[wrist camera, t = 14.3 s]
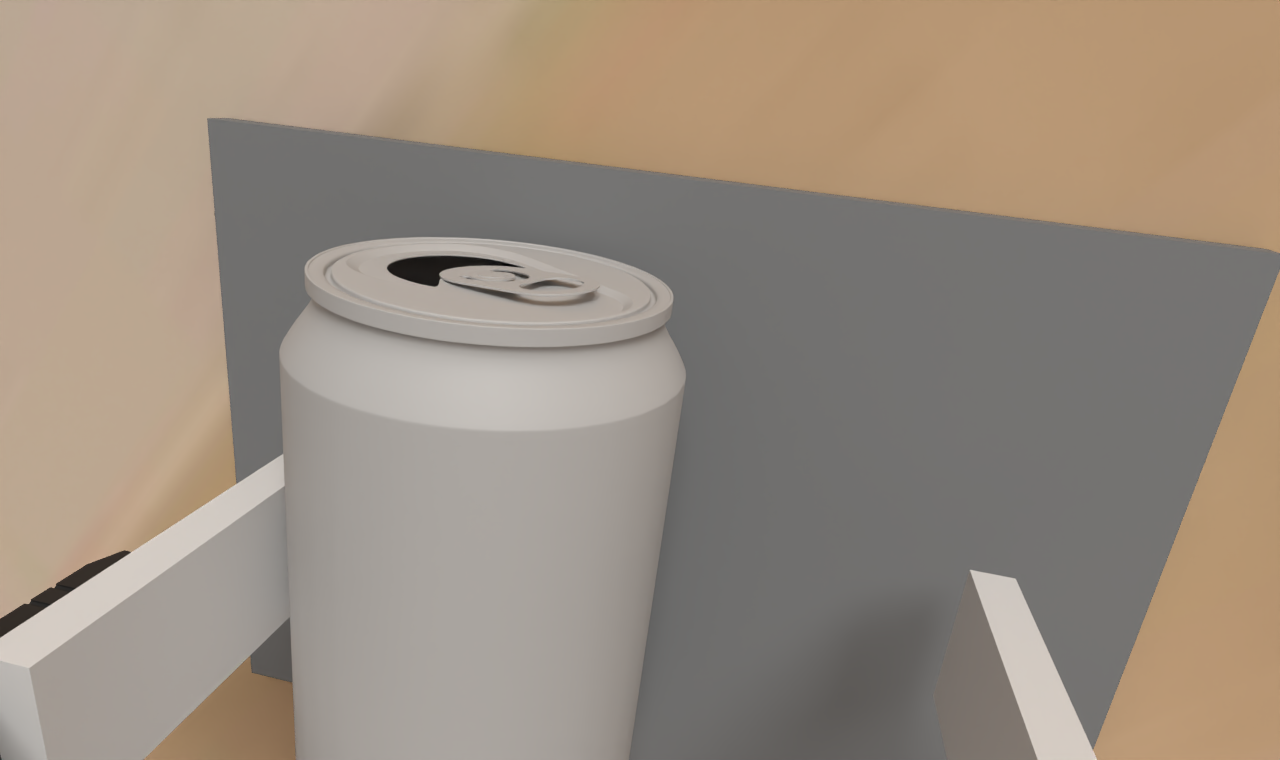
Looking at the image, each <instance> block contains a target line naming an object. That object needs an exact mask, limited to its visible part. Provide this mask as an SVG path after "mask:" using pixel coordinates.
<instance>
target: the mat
mask: <svg viewBox="0 0 1280 760" xmlns="http://www.w3.org/2000/svg"><path fill="white" fill-rule="evenodd" d="M207 120H208V133H209V145H210V158H211V170H212V183H213V195H214V208H215V220H216V233H217V245H218V258H219V270H220V282H221V295H222V307H223V320H224V332H225V345H226V357H227V370H228V382H229V395H230V407H231V420H232V432H233V444H234V457H235V469H236V482H237V483H239V482H240V481H242V480H244V479H245V478H247V477H248V476H250V475H251V474H253V473H254V472H256V471H257V470H259V469H260V468H262V467H264V466H265V465H267V464H268V463H270V462H271V461H273V460H274V459H276V458H277V457H279V456H280V455H282V454H283V434H282V409H281V385H280V361H279V350H280V346H281V343H282V341H283V339H284V337H285V336H286V334H287V333H288V331H289V329H290V328H291V326H292V325H293V323H294V322H295V321H296V319H297V318H298V317H299V315H300V314H301V313H302V312H303V310H304V309H305V308H306V306H307V305H308V304H309V302H310V300H311V297H310V296H309V295H308V294H307V292H306V289H305V272H304V269H305V265H306V263H307V262H308V260H310V259H311V258H312V257H314V256H315V255H317V254H319V253H321V252H323V251H326V250H328V249H331V248H334V247H338V246H342V245H346V244H351V243H357V242H364V241H371V240H380V239H391V238H410V237H456V238H478V239H493V240H504V241H514V242H523V243H530V244H538V245H545V246H551V247H557V248H563V249H568V250H574V251H578V252H583V253H588V254H592V255H596V256H600V257H604V258H607V259H611V260H615V261H618V262H621V263H624V264H627V265H630V266H633V267H635V268H638V269H640V270H643V271H645V272H647V273H649V274H651V275H653V276H655V277H656V278H658V279H660V280H661V281H662V282H664V283H665V284H666V285H667V286H668V287H669V288H670V289H671V291H672V293H673V306H672V313H671V317H670V319H669V320H668V321H667V322H666V323H665V327H666V329H667V331H668V333H669V335H670V337H671V339H672V340H673V342H674V344H675V346H676V348H677V350H678V352H679V354H680V357H681V359H682V361H683V364H684V367H685V370H686V380H685V388H684V394H683V401H682V408H681V414H680V421H679V428H678V434H677V441H676V448H675V454H674V461H673V468H672V474H671V481H670V488H669V494H668V501H667V508H666V514H665V521H664V528H663V534H662V541H661V548H660V554H659V561H658V568H657V574H656V581H655V588H654V594H653V601H652V608H651V615H650V621H649V628H648V635H647V641H646V648H645V655H644V661H643V668H642V675H641V681H640V688H639V695H638V701H637V708H636V715H635V721H634V728H633V735H632V741H631V748H630V755H629V760H947V756H946V752H945V747H944V743H943V738H942V733H941V729H940V724H939V720H938V715H937V711H936V706H935V701H934V697H933V694H934V691H935V688H936V684H937V681H938V677H939V674H940V670H941V667H942V663H943V660H944V656H945V653H946V650H947V646H948V643H949V639H950V636H951V632H952V629H953V625H954V622H955V619H956V615H957V612H958V608H959V605H960V601H961V598H962V594H963V591H964V588H965V584H966V581H967V577H968V574H969V570H974V571H979V572H984V573H989V574H995V575H1000V576H1005V577H1010V578H1015V579H1016V581H1017V583H1018V585H1019V587H1020V590H1021V592H1022V594H1023V596H1024V598H1025V601H1026V603H1027V605H1028V607H1029V610H1030V612H1031V614H1032V616H1033V618H1034V621H1035V623H1036V625H1037V627H1038V630H1039V632H1040V634H1041V636H1042V638H1043V641H1044V643H1045V645H1046V647H1047V650H1048V652H1049V654H1050V656H1051V658H1052V661H1053V663H1054V665H1055V667H1056V669H1057V672H1058V674H1059V676H1060V678H1061V681H1062V683H1063V685H1064V687H1065V689H1066V692H1067V694H1068V696H1069V698H1070V701H1071V703H1072V705H1073V707H1074V709H1075V712H1076V714H1077V716H1078V718H1079V721H1080V723H1081V725H1082V727H1083V729H1084V732H1085V734H1086V736H1087V738H1088V741H1089V743H1090V745H1091V747H1092V749H1094V746H1095V743H1096V741H1097V738H1098V736H1099V733H1100V731H1101V728H1102V725H1103V723H1104V720H1105V718H1106V715H1107V713H1108V710H1109V707H1110V705H1111V702H1112V700H1113V697H1114V694H1115V692H1116V689H1117V687H1118V684H1119V682H1120V679H1121V676H1122V674H1123V671H1124V669H1125V666H1126V664H1127V661H1128V658H1129V656H1130V653H1131V651H1132V648H1133V646H1134V643H1135V640H1136V638H1137V635H1138V633H1139V630H1140V628H1141V625H1142V622H1143V620H1144V617H1145V615H1146V612H1147V610H1148V607H1149V604H1150V602H1151V599H1152V597H1153V594H1154V592H1155V589H1156V586H1157V584H1158V581H1159V579H1160V576H1161V573H1162V571H1163V568H1164V566H1165V563H1166V561H1167V558H1168V555H1169V553H1170V550H1171V548H1172V545H1173V543H1174V540H1175V537H1176V535H1177V532H1178V530H1179V527H1180V525H1181V522H1182V519H1183V517H1184V514H1185V512H1186V509H1187V507H1188V504H1189V501H1190V499H1191V496H1192V494H1193V491H1194V489H1195V486H1196V483H1197V481H1198V478H1199V476H1200V473H1201V471H1202V468H1203V465H1204V463H1205V460H1206V458H1207V455H1208V452H1209V450H1210V447H1211V445H1212V442H1213V440H1214V437H1215V434H1216V432H1217V429H1218V427H1219V424H1220V422H1221V419H1222V416H1223V414H1224V411H1225V409H1226V406H1227V404H1228V401H1229V398H1230V396H1231V393H1232V391H1233V388H1234V386H1235V383H1236V380H1237V378H1238V375H1239V373H1240V370H1241V368H1242V365H1243V362H1244V360H1245V357H1246V355H1247V352H1248V350H1249V347H1250V344H1251V342H1252V339H1253V337H1254V334H1255V332H1256V329H1257V326H1258V324H1259V321H1260V319H1261V316H1262V313H1263V311H1264V308H1265V306H1266V303H1267V301H1268V298H1269V295H1270V293H1271V290H1272V288H1273V285H1274V283H1275V280H1276V277H1277V275H1278V272H1279V270H1280V253H1277V252H1274V251H1271V250H1267V249H1261V248H1253V247H1246V246H1238V245H1230V244H1222V243H1214V242H1206V241H1198V240H1190V239H1182V238H1174V237H1166V236H1158V235H1150V234H1142V233H1134V232H1126V231H1119V230H1111V229H1103V228H1095V227H1087V226H1079V225H1071V224H1063V223H1055V222H1047V221H1039V220H1031V219H1023V218H1015V217H1007V216H1000V215H992V214H984V213H976V212H968V211H960V210H952V209H944V208H936V207H928V206H920V205H912V204H904V203H896V202H888V201H880V200H873V199H865V198H857V197H849V196H841V195H833V194H825V193H817V192H809V191H801V190H793V189H785V188H777V187H769V186H761V185H754V184H746V183H738V182H730V181H722V180H714V179H706V178H698V177H690V176H682V175H674V174H666V173H658V172H650V171H642V170H634V169H627V168H619V167H611V166H603V165H595V164H587V163H579V162H571V161H563V160H555V159H547V158H539V157H531V156H523V155H515V154H508V153H500V152H492V151H484V150H476V149H468V148H460V147H452V146H444V145H436V144H428V143H420V142H412V141H404V140H396V139H388V138H381V137H373V136H365V135H357V134H349V133H341V132H333V131H325V130H317V129H309V128H301V127H293V126H285V125H277V124H269V123H262V122H254V121H246V120H238V119H230V118H207ZM250 656H251V669H252V673H256V674H260V675H264V676H268V677H272V678H276V679H280V680H285V681H289V682H293V678H292V654H291V629H290V617H289V618H288V619H287V620H286V621H285V622H284V623H283V624H282V625H281V626H280V627H279V628H278V629H277V630H276V631H275V632H274V633H273V634H272V635H271V636H270V637H269V638H268V639H267V640H265V641H264V642H263V643H262V644H261V645H260V646H259V647H258V648H257V649H256V650H255V651H254V652H253V653H252V654H251V655H250Z"/></svg>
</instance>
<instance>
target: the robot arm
mask: <svg viewBox="0 0 1280 760" xmlns="http://www.w3.org/2000/svg"><path fill="white" fill-rule="evenodd" d="M289 617H290V605H289V581H288V556H287V532H286V507H285V483H284V458H283V454H282V455H280V456H279V457H277V458H276V459H274V460H273V461H271V462H270V463H268V464H267V465H265V466H264V467H262V468H260V469H259V470H257V471H256V472H254V473H253V474H251V475H250V476H248V477H247V478H245V479H244V480H242V481H240V482H239V483H237V484H236V485H234V486H233V487H231V488H230V489H228V490H227V491H225V492H224V493H222V494H220V495H219V496H217V497H216V498H214V499H213V500H211V501H210V502H208V503H207V504H205V505H204V506H202V507H200V508H199V509H197V510H196V511H194V512H193V513H191V514H190V515H188V516H187V517H185V518H184V519H182V520H180V521H179V522H177V523H176V524H174V525H173V526H171V527H170V528H168V529H167V530H165V531H164V532H162V533H161V534H159V535H157V536H156V537H154V538H153V539H151V540H150V541H148V542H147V543H145V544H144V545H142V546H141V547H139V548H137V549H136V550H134V551H133V552H129V551H125V550H124V551H121V552H119V553H116V554H113V555H111V556H108V557H106V558H103V559H100V560H98V561H95V562H92V563H90V564H87V565H85V566H84V567H82V568H81V569H79V570H77V571H76V572H74V573H73V574H71V575H69V576H68V577H66V578H65V579H63V580H61V581H60V582H58V583H57V584H56V587H55V588H49V589H47V590H46V591H44V592H42V593H41V594H39V595H38V596H36V597H34V598H33V599H31V602H30V604H23V605H22V606H20V607H18V608H17V609H15V610H14V611H12V612H10V613H9V614H7V615H6V616H4V617H2V618H1V619H0V760H143V759H144V758H145V757H146V756H147V755H149V754H150V753H151V752H152V751H153V750H154V749H155V748H156V747H157V746H158V745H159V744H160V743H161V742H162V741H163V740H164V739H165V738H166V737H167V736H168V735H169V734H170V733H171V732H172V731H173V730H174V729H175V728H176V727H177V726H178V725H179V724H180V723H181V722H182V721H183V720H184V719H185V718H186V717H188V716H189V715H190V714H191V713H192V712H193V711H194V710H195V709H196V708H197V707H198V706H199V705H200V704H201V703H202V702H203V701H204V700H205V699H206V698H207V697H208V696H209V695H210V694H211V693H212V692H213V691H214V690H215V689H216V688H217V687H218V686H219V685H220V684H221V683H222V682H223V681H224V680H225V679H226V678H228V677H229V676H230V675H231V674H232V673H233V672H234V671H235V670H236V669H237V668H238V667H239V666H240V665H241V664H242V663H243V662H244V661H245V660H246V659H247V658H248V657H249V656H250V655H251V654H252V653H253V652H254V651H255V650H256V649H257V648H258V647H259V646H260V645H261V644H262V643H263V642H264V641H265V640H267V639H268V638H269V637H270V636H271V635H272V634H273V633H274V632H275V631H276V630H277V629H278V628H279V627H280V626H281V625H282V624H283V623H284V622H285V621H286V620H287V619H288V618H289ZM933 697H934V701H935V706H936V711H937V715H938V720H939V724H940V729H941V733H942V738H943V743H944V747H945V752H946V756H947V760H1097V758H1096V756H1095V754H1094V752H1093V749H1092V747H1091V745H1090V743H1089V741H1088V738H1087V736H1086V734H1085V732H1084V729H1083V727H1082V725H1081V723H1080V721H1079V718H1078V716H1077V714H1076V712H1075V709H1074V707H1073V705H1072V703H1071V701H1070V698H1069V696H1068V694H1067V692H1066V689H1065V687H1064V685H1063V683H1062V681H1061V678H1060V676H1059V674H1058V672H1057V669H1056V667H1055V665H1054V663H1053V661H1052V658H1051V656H1050V654H1049V652H1048V650H1047V647H1046V645H1045V643H1044V641H1043V638H1042V636H1041V634H1040V632H1039V630H1038V627H1037V625H1036V623H1035V621H1034V618H1033V616H1032V614H1031V612H1030V610H1029V607H1028V605H1027V603H1026V601H1025V598H1024V596H1023V594H1022V592H1021V590H1020V587H1019V585H1018V583H1017V581H1016V579H1015V578H1010V577H1005V576H1000V575H995V574H989V573H984V572H979V571H974V570H969V574H968V577H967V581H966V584H965V588H964V591H963V594H962V598H961V601H960V605H959V608H958V612H957V615H956V619H955V622H954V625H953V629H952V632H951V636H950V639H949V643H948V646H947V650H946V653H945V656H944V660H943V663H942V667H941V670H940V674H939V677H938V681H937V684H936V688H935V691H934V694H933Z"/></svg>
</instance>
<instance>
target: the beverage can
mask: <svg viewBox="0 0 1280 760" xmlns="http://www.w3.org/2000/svg"><path fill="white" fill-rule="evenodd" d="M304 272H305V289H306V292H307V294H308V295H309V296H310V297H311V300H310V302H309V304H308V305H307V306H306V308H305V309H304V310H303V312H302V313H301V314H300V315H299V317H298V318H297V319H296V321H295V322H294V323H293V325H292V326H291V328H290V329H289V331H288V333H287V334H286V336H285V337H284V339H283V341H282V343H281V346H280V350H279V361H280V385H281V409H282V434H283V458H284V483H285V507H286V532H287V556H288V581H289V605H290V629H291V654H292V678H293V703H294V727H295V752H296V760H629V755H630V748H631V741H632V735H633V728H634V721H635V715H636V708H637V701H638V695H639V688H640V681H641V675H642V668H643V661H644V655H645V648H646V641H647V635H648V628H649V621H650V615H651V608H652V601H653V594H654V588H655V581H656V574H657V568H658V561H659V554H660V548H661V541H662V534H663V528H664V521H665V514H666V508H667V501H668V494H669V488H670V481H671V474H672V468H673V461H674V454H675V448H676V441H677V434H678V428H679V421H680V414H681V408H682V401H683V394H684V388H685V380H686V370H685V367H684V364H683V361H682V359H681V357H680V354H679V352H678V350H677V348H676V346H675V344H674V342H673V340H672V339H671V337H670V335H669V333H668V331H667V329H666V327H665V323H666V322H667V321H668V320H669V319H670V317H671V313H672V306H673V293H672V291H671V289H670V288H669V287H668V286H667V285H666V284H665V283H664V282H662V281H661V280H660V279H658V278H656V277H655V276H653V275H651V274H649V273H647V272H645V271H643V270H640V269H638V268H635V267H633V266H630V265H627V264H624V263H621V262H618V261H615V260H611V259H607V258H604V257H600V256H596V255H592V254H588V253H583V252H578V251H574V250H568V249H563V248H557V247H551V246H545V245H538V244H530V243H523V242H514V241H504V240H493V239H478V238H456V237H410V238H391V239H380V240H371V241H364V242H357V243H351V244H346V245H342V246H338V247H334V248H331V249H328V250H326V251H323V252H321V253H319V254H317V255H315V256H314V257H312V258H311V259H310V260H308V262H307V263H306V265H305V269H304Z"/></svg>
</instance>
